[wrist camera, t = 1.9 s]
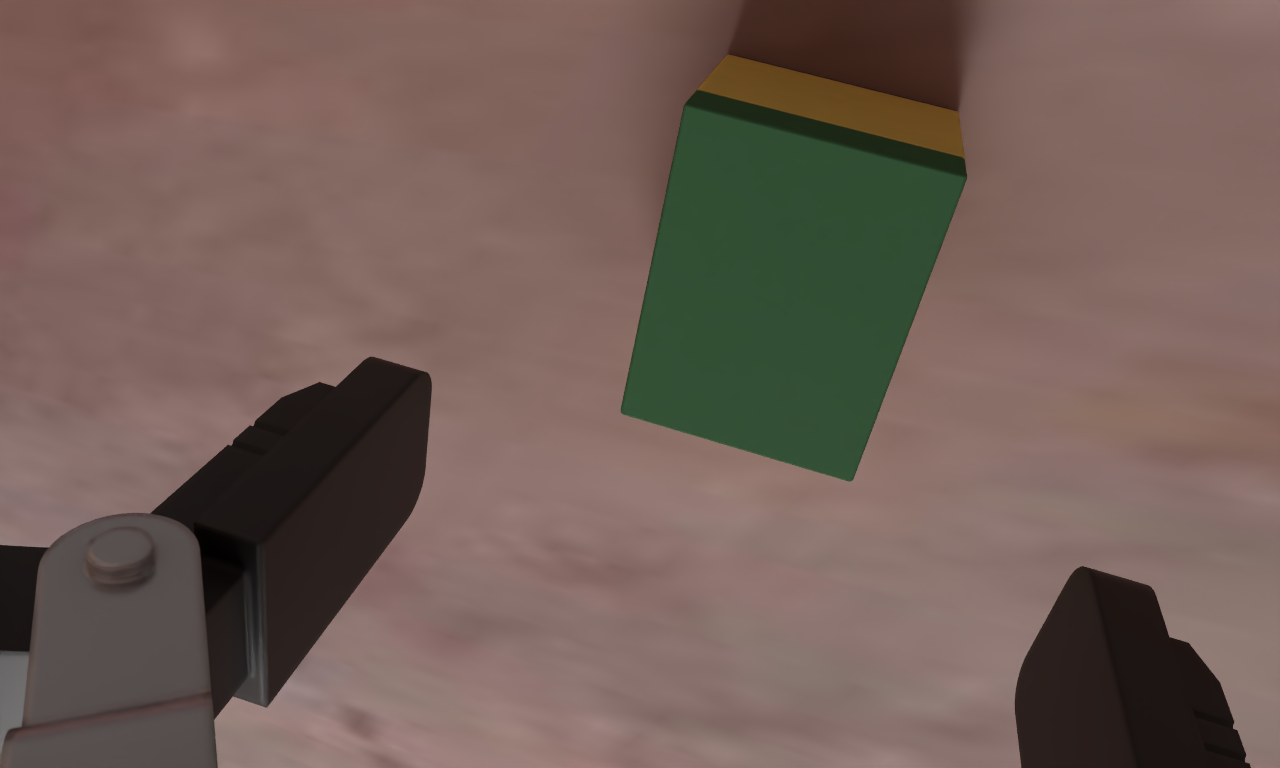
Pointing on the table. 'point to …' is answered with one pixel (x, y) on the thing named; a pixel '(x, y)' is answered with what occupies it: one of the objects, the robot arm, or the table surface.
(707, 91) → the sponge
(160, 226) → the table surface
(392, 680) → the table surface
